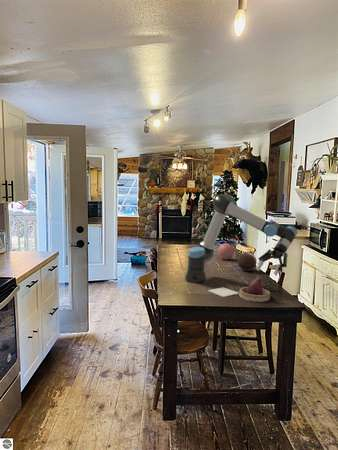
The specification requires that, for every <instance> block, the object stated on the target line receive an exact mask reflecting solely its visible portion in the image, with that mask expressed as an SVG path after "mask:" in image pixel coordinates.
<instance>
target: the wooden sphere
mask: <svg viewBox="0 0 338 450" xmlns="http://www.w3.org/2000/svg"><path fill="white" fill-rule="evenodd" d="M237 264H238V267H239V268H240V269H241V270H243V271H245V272H249V271H253V269H255V267H257V258H256V256H255V255H254V254H253V253H250V252H243V253H241V254H240V255H239V256H238V258H237Z"/></svg>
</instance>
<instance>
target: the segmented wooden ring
mask: <svg viewBox="0 0 338 450" xmlns="http://www.w3.org/2000/svg"><path fill="white" fill-rule="evenodd" d="M247 289H248V286H245V287H244V286H243V287H241V288H240V289H239V292H238V293H239V294H238V296H239V297H240V298H241V299H243V300H246V301H250V302H263V303H264V302H267V301H270V298H271V292H270V290H268V289H264V288H262V290H263V295H252V294H247V293H246V292H247Z"/></svg>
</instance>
